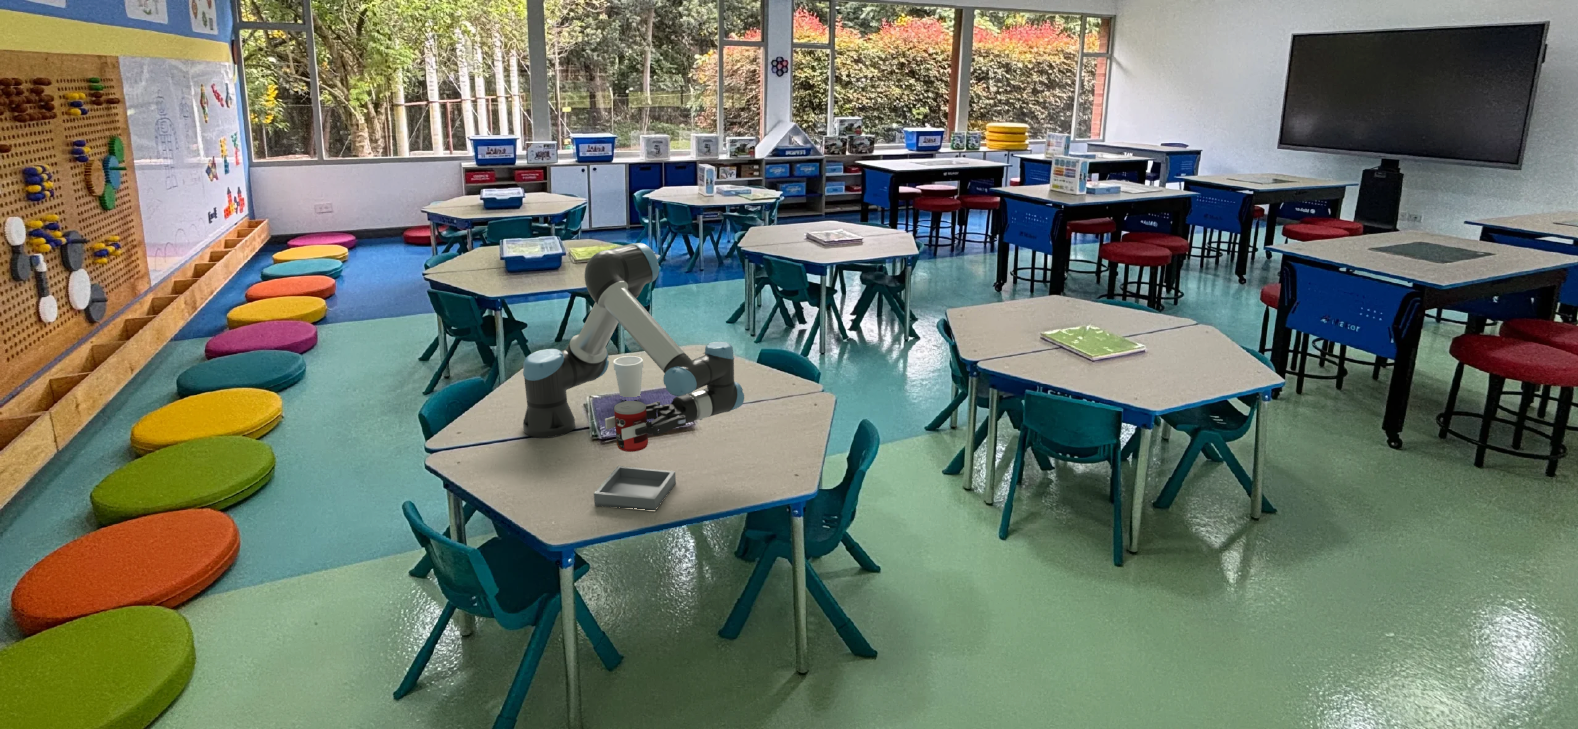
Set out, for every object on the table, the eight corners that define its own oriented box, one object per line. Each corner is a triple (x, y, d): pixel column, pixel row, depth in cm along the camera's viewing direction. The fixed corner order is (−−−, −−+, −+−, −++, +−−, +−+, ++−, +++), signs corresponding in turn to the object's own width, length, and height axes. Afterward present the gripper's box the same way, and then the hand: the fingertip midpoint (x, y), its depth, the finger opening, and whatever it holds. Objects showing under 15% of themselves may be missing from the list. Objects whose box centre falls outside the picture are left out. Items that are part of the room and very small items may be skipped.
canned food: (618, 440, 238) (615, 401, 234) (649, 439, 239) (646, 400, 235) (615, 453, 231) (612, 412, 227) (647, 451, 231) (645, 411, 228)
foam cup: (638, 404, 295) (636, 366, 290) (611, 402, 296) (608, 364, 292) (648, 393, 303) (646, 356, 299) (622, 391, 305) (619, 354, 301)
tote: (594, 505, 231) (593, 493, 230) (618, 477, 246) (617, 465, 245) (655, 512, 228) (654, 499, 227) (675, 483, 243) (675, 471, 241)
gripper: (713, 432, 237) (635, 456, 223) (671, 409, 252) (595, 430, 239) (712, 405, 234) (633, 428, 221) (669, 383, 250) (593, 403, 236)
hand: (614, 429), depth 230 cm, fingers closed on canned food, 8 cm apart
